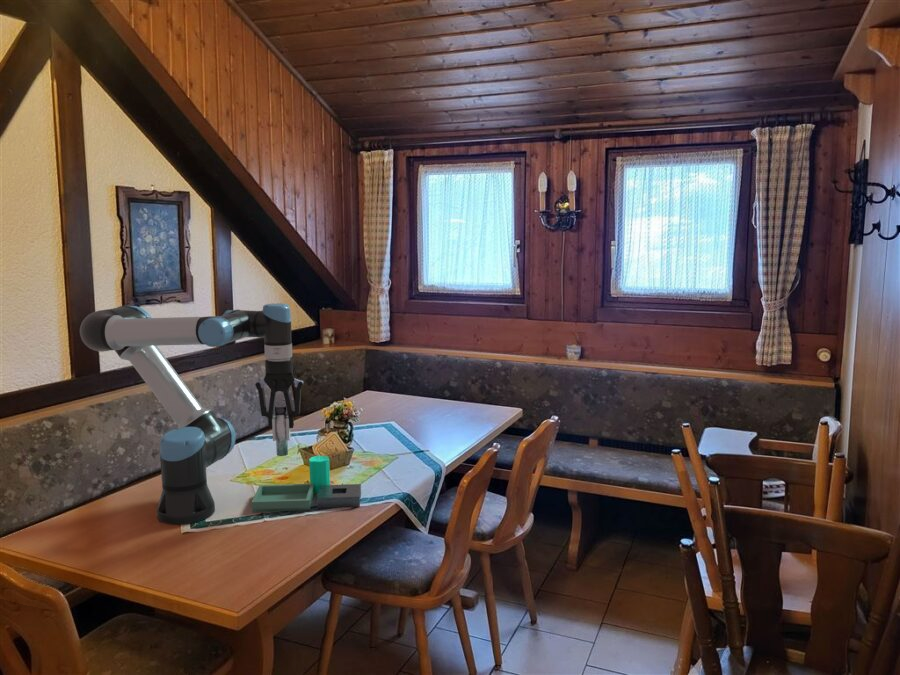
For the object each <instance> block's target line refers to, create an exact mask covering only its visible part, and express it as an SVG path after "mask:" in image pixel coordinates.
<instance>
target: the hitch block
mask: <svg viewBox="0 0 900 675" xmlns="http://www.w3.org/2000/svg"><path fill="white" fill-rule="evenodd" d="M361 497H362V484H361V483H355V484H354V483H353V484H350V483H349V484H330V485H320V488H319V492H318V494H317V497H316V503H317V504H316V507H317V509H326V508H331V509H332V508H355V507H356V508H359V507H361Z"/></svg>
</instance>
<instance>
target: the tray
mask: <svg viewBox="0 0 900 675" xmlns="http://www.w3.org/2000/svg"><path fill="white" fill-rule="evenodd" d="M314 495H315V494H314V484H310V483H294V484H293V483H292V484H263V485H262V484H261V485H259V486H258V487H257V490H256V491H255V494H254V496H253V498H252V500H251V513H269V512H298V511H299V512H301V511H302V512H303V511H310V510H311V506H312V503H313V499H314V497H315V496H314Z"/></svg>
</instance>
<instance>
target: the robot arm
mask: <svg viewBox="0 0 900 675" xmlns="http://www.w3.org/2000/svg"><path fill="white" fill-rule="evenodd" d="M292 320H293V319H292V314H291V307H290V306H289V305H288V304H287V303H279V302H278V303H266V304H264V305H263V306H262V310H243V309H231V310H230V309H227V310H226V311H225V312H224V313H223V314H222V315H216V316H213V315H212V316H211V315H210V316H209V315H208V316H187V317H186V316H183V317H182V316H180V317H152V316H151V314H150V313H149V312H148V311H146V310H145V309H144V308H142V307H140V306H136V305H122V306H121V305H120V306H117V307H114V308H113V307H112V308H108V309H102V310H96V311H93V312H91V313H89V314H88V315H86V317H84V319H83V320H82V321H81V324H80V327H79V335H80V338H81V341H82V342H83V344H84V345H85V346H86V347H87V348H89V349H90V350H93V351H96V352H99V353H100V352H109V351H115V353H116V354H117V355H118V357H119V358H120V360H125V361H129V362H130V363H131V365H132V367H133V368H134V369H135V370H136V372H137V373H138V374H139V376H140V377H141V378H142V380H143V381H144V382H145V384H146V385H147V387H148V388H149V389H150V390H151V393H153V394H154V397H155V398H157V400H158V401H159V403H160V404H161V405H162V406H163V407H164V409H165V411H166V412H167V414H168V415H169V416H170V418H172V420H173V422H175V424H176V425H177V429H171V430H169V431H167V432H166V433H165V434H163V435H162V437H161V438H160V440H159V452H158V454H159V458H160V471H161V472H160V474H161V485H162V486H161V487H162V490H161V494H160V499H159V502H158V504H157V508H156V509H157V510H156V516H157V519H158V521H159V522H161V523H163V524H167V525H187V524H192V523H196V522H201V521H203V520H206V519H208V518H210V517H211V516H213V515H214V513H215V512H216V507H215V506H216V505H215V501H214V498H213V495H212V493H211V490H210V488H209V486H208V481H207V480H208V479H207V468H208V467H210V466H211V465H213V464H215V463H217V462H218V461H220V460H223V459H224V458H225V457H226V456H227V455H228V454H230V453H231V452H232V450H233V449H234V448H235V445H236V437H237V436H236V431H235V428H234V426H233V425H232V424H231V422H230V421H228V420H227V419H225V418H223V417H218V416H216V414H215V413H214V412H213V410H212V409H209V408H204V407H203V405H201V404H200V402H199V401H198V399H197V397H195V395H194V394H193V393H192V391H191V390H190V389H189V387H188V386H187V385H186V383H185V382H184V381H183V379H182V378H181V377H180V375H179V374H178V373H177V371H176V370H175V368H174V367H173V366H172V365H171V363H170V362H169V360H168V359H167V358H166V356H165V355H164V354H163V352H162V351H161V350H160V348H159V347H158V346H192V345H193V346H197V345H199V346H200V345H201V346H202V345H203V346H204V345H206V346H207V347H213V348H215V347H222V346H225V345H227V344H229V343H232V342H235V341H238V340H241V339H245V338H263V342H264V343H263V344H264V345H263V346H264V358H265V359H266V360H265V361H264V366H265V368H264V371H265V375H264V378H263V379H261V380H257V381H256V383H255V384H254V386H255V388H256V389H257V392H258V398H259V400H258V401H259V407H260V415H261V416H262V417H266V418H267V422H268V424H267V425H268V429H269V430H272V442H276V425H275V407H276V404H275V403H276V399H277V398H276V397H277V392H282V393H283V394H282V395H283V396H284V397H283V398H284V401H285V406H286V411H287V417H286V435H287V441H291V437H292V436H291V429H293V428H294V426H295V419H294V418H295V417H297V416H299V415H300V413H301V398H302V396H301V395H302V387H303V384H304V383H305V382H304V380H303V379H297V378H296V377H295V375H294V369H293V368H294V365H293V362H294V361H293V359H292V358H293V341H292ZM293 383H294V387H295V388H296V389H295V397H294V398H295V400H294V402H295V403H294V407H293V402H292V397H291V394H290V393H291V392H290V388H291V386H292V385H293ZM265 386H267V387H268V388H269V389H270V394H269V404H268V411H267V403H266V402H267V400H266V393H265ZM293 408H294V409H293Z"/></svg>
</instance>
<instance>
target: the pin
mask: <svg viewBox="0 0 900 675" xmlns="http://www.w3.org/2000/svg"><path fill="white" fill-rule="evenodd" d="M274 416H275V425H276V441H275V445H276V447H275V449H276V456H279V457H286V456H287V455H289V447H288V446H289V443H288V441H287V435H286V417H287V416H288V412H287V407H286V405H277V406H276V405H275V406H274Z"/></svg>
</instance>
